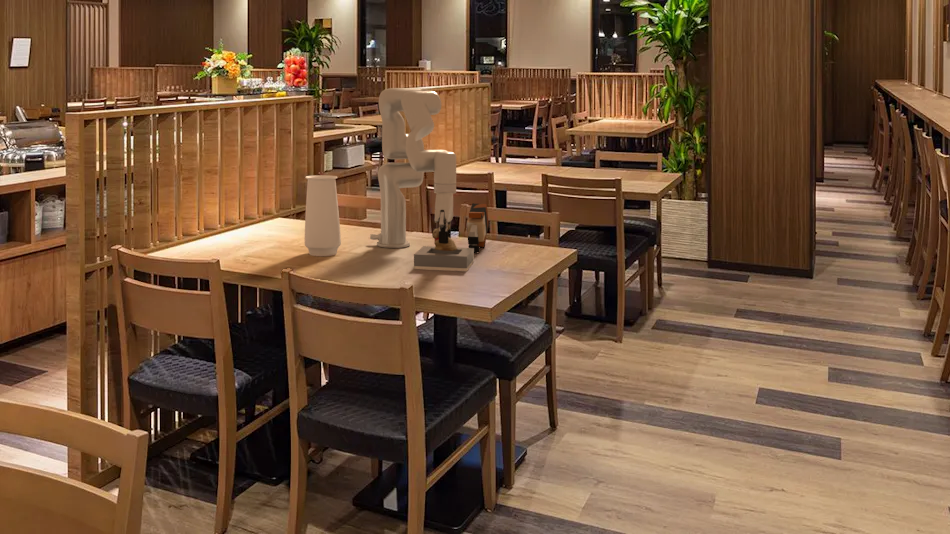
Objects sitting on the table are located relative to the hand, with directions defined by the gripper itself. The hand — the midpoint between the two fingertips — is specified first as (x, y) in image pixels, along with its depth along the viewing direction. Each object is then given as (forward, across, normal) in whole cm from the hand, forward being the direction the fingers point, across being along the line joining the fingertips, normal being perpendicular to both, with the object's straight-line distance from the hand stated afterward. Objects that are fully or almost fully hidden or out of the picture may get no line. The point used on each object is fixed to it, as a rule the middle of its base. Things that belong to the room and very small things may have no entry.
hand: (444, 241), depth 305 cm
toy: (+9, -34, +6) cm, 36 cm away
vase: (+8, -12, -47) cm, 49 cm away
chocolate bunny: (+3, 0, 0) cm, 3 cm away
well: (+8, 0, 0) cm, 8 cm away
